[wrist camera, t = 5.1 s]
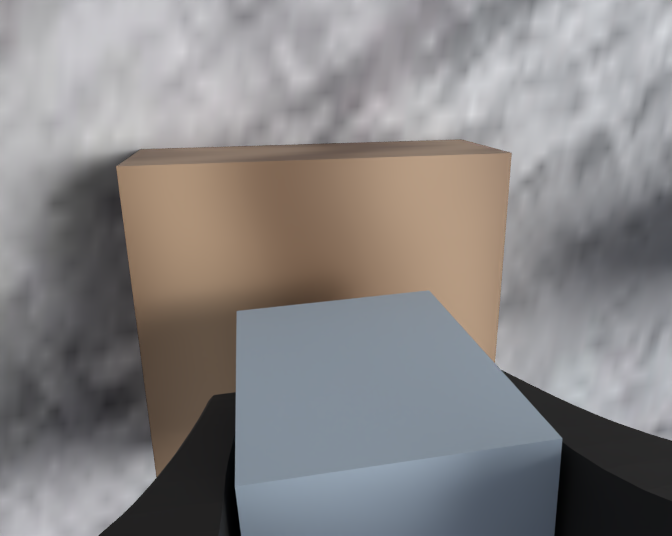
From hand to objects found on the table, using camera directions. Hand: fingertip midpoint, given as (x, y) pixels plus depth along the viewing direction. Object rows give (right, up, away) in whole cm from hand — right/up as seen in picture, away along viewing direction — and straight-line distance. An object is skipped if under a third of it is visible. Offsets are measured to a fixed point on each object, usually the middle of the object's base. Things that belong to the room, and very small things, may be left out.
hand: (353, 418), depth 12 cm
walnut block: (-1, +2, +7) cm, 8 cm away
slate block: (0, 0, +2) cm, 2 cm away
